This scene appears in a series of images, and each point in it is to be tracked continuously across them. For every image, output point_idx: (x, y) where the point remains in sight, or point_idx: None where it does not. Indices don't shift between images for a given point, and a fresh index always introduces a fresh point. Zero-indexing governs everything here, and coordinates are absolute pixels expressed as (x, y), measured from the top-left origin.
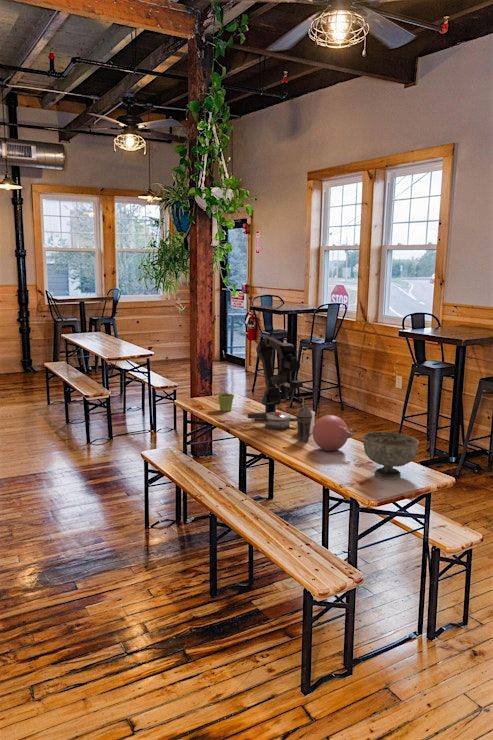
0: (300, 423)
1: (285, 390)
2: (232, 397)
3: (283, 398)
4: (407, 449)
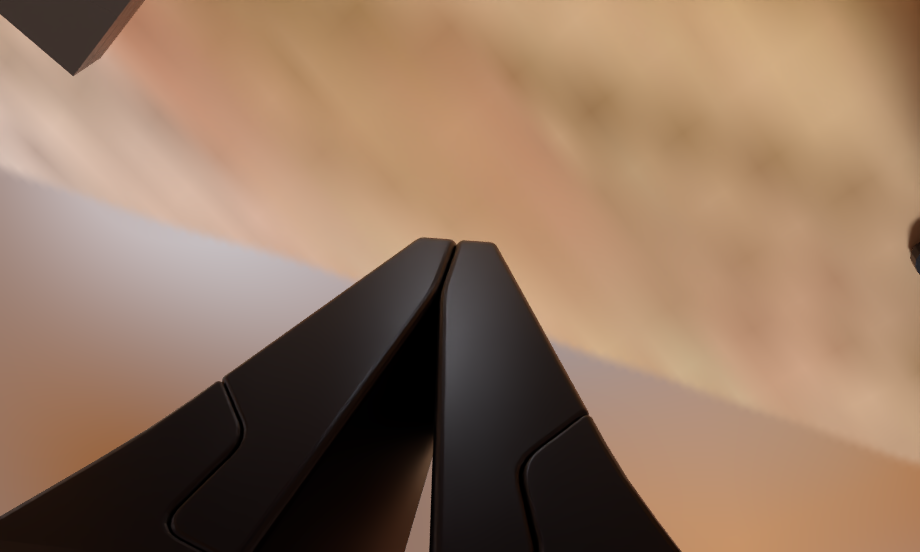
0: None
1: (70, 524)
2: None
3: (488, 246)
4: None
